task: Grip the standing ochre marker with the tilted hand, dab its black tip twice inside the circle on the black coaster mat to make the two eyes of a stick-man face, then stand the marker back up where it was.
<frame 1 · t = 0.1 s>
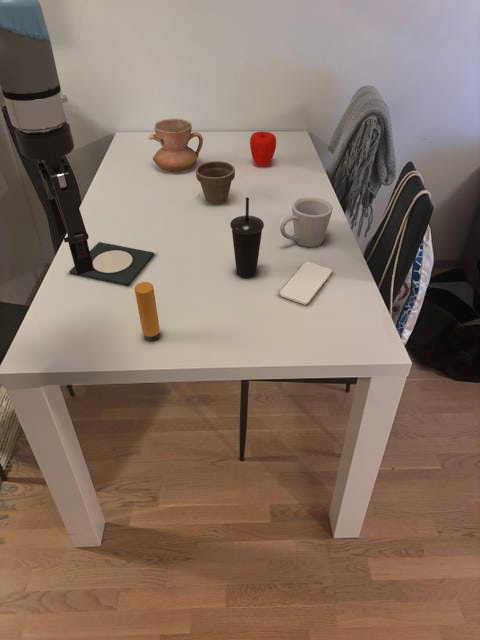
hand: (75, 251, 82), 24 cm above the table, tool pointing down, fingers open, 13 cm apart
marker: (152, 336, 100), on the table
mug: (301, 242, 128), on the table
black coaster mat: (113, 264, 120), on the table
smartphone: (306, 284, 114), on the table
red rounded lobed shape: (262, 164, 165), on the table
drinking cup: (246, 273, 117), on the table
ceramic jug: (178, 167, 164), on the table
flower pot: (216, 201, 145), on the table
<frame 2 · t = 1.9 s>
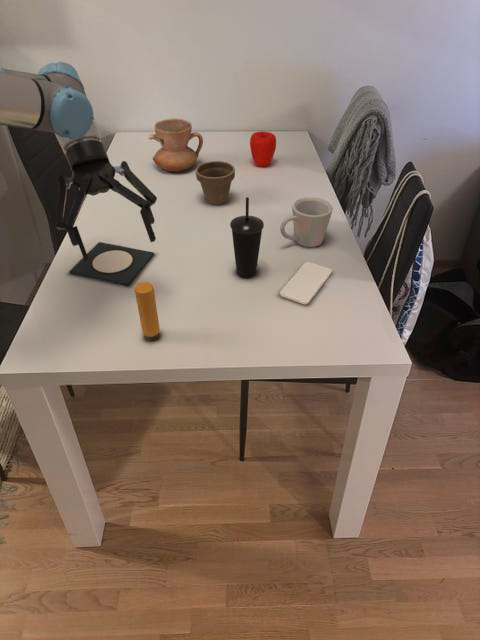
hand: (120, 250, 94), 17 cm above the table, tool tilted 40°, fingers open, 13 cm apart
nothing on the table moved.
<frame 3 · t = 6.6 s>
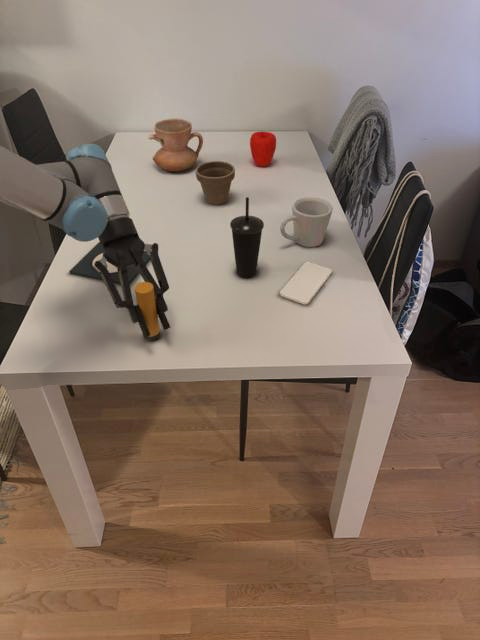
hand: (157, 332, 95), 4 cm above the table, tool tilted 45°, fingers closed on marker, 4 cm apart
marker: (152, 336, 100), on the table, touching gripper
everything else where it was.
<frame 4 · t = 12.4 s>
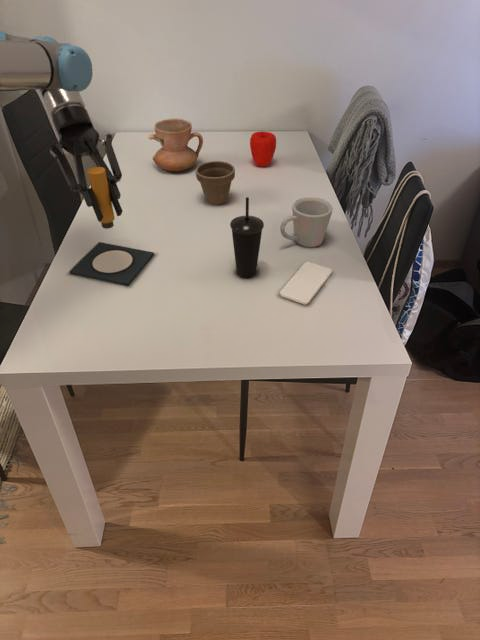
hand: (110, 216, 102), 18 cm above the table, tool tilted 45°, fingers closed on marker, 4 cm apart
marker: (107, 225, 107), point 14 cm above the table, touching gripper
everything else where it was.
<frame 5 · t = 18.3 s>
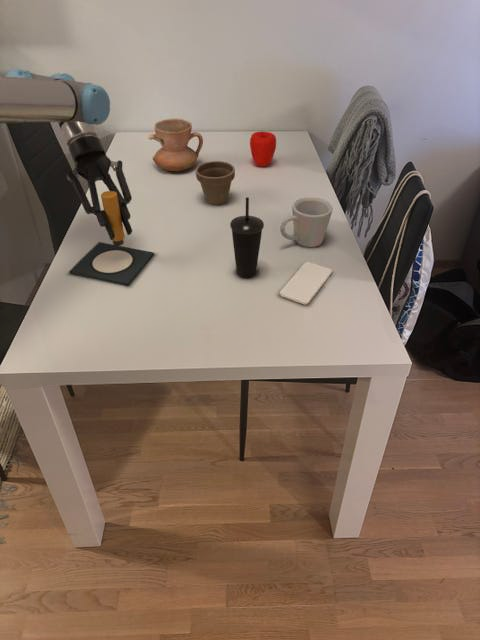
hand: (121, 235, 112), 10 cm above the table, tool tilted 45°, fingers closed on marker, 4 cm apart
marker: (118, 243, 117), point 5 cm above the table, touching gripper
everything else where it was.
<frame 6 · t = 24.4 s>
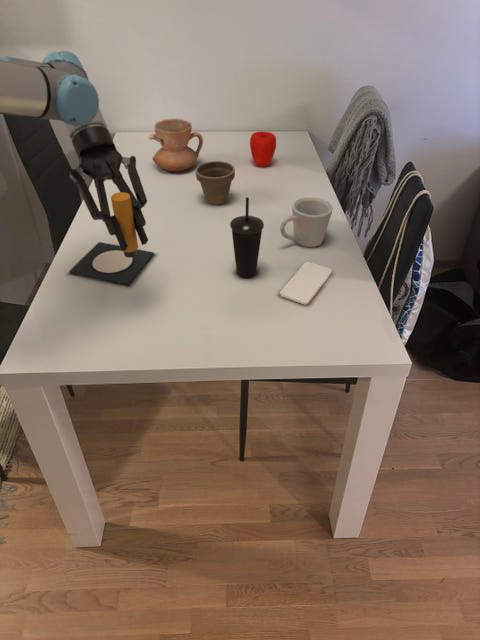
hand: (135, 245, 93), 18 cm above the table, tool tilted 45°, fingers closed on marker, 4 cm apart
marker: (130, 254, 99), point 14 cm above the table, touching gripper
everything else where it was.
when the fingers open (4 cm above the table, at t = 29.8 s): marker stays where it is, on the table.
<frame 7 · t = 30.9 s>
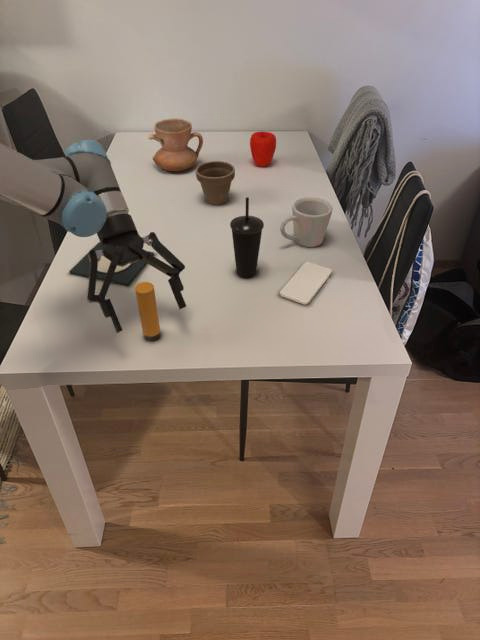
hand: (152, 319, 94), 6 cm above the table, tool tilted 45°, fingers open, 13 cm apart
marker: (152, 336, 100), on the table
everything else where it was.
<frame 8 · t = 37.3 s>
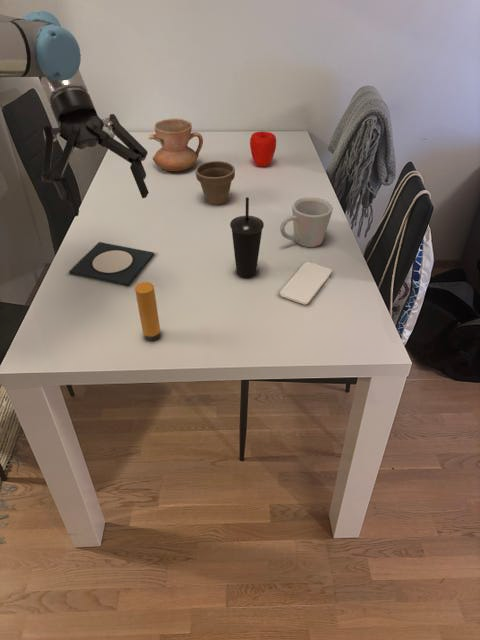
hand: (112, 204, 90), 26 cm above the table, tool tilted 45°, fingers open, 13 cm apart
nothing on the table moved.
at the end: marker tilted 0°; the gripper is holding nothing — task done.
